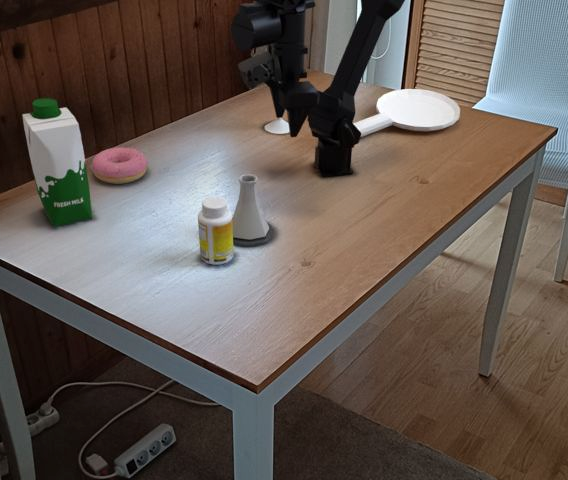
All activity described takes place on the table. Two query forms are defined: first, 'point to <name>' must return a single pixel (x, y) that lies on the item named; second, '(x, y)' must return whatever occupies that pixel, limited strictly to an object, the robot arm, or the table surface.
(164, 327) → the table surface
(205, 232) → the supplement bottle
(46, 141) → the milk carton
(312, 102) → the robot arm
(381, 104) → the frying pan
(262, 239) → the slate coaster
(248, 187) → the flask
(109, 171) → the doughnut
